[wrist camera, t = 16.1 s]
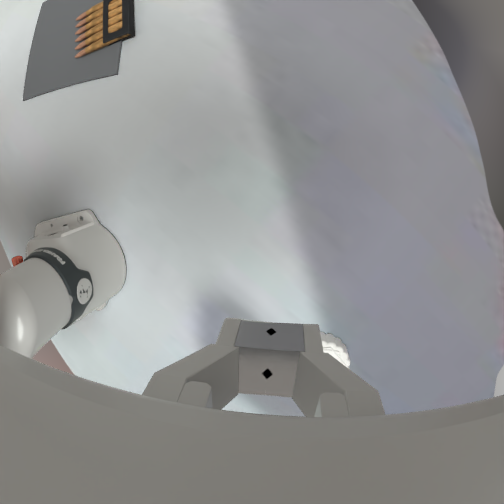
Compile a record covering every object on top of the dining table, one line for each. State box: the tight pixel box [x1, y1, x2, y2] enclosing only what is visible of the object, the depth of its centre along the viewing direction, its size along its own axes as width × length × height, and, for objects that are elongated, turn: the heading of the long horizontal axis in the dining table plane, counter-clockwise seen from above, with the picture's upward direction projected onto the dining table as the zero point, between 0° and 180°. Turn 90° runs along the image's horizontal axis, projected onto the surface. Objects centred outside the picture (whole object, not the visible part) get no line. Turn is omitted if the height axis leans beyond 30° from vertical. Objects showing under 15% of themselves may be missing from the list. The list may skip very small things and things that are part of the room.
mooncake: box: [320, 332, 350, 369], centre depth 48 cm, size 12×12×4 cm
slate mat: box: [23, 0, 122, 101], centre depth 35 cm, size 24×24×1 cm
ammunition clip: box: [75, 0, 135, 58], centre depth 34 cm, size 11×2×12 cm
